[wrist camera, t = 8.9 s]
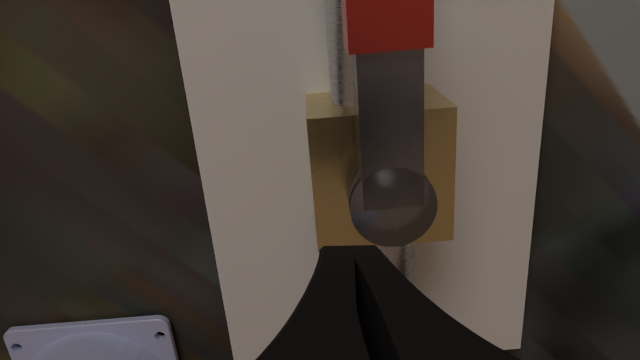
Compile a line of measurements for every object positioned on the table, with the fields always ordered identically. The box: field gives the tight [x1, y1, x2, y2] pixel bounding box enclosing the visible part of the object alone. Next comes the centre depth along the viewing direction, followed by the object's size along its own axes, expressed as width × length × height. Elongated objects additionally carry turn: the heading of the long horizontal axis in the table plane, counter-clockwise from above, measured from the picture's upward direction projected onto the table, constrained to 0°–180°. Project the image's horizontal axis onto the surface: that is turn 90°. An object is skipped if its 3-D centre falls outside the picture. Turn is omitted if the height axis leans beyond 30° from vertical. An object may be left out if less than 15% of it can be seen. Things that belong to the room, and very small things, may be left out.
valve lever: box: [341, 0, 438, 247], centre depth 14 cm, size 10×3×2 cm, turn 4°
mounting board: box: [169, 0, 555, 360], centre depth 21 cm, size 22×14×1 cm, turn 4°
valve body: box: [306, 0, 457, 286], centre depth 18 cm, size 18×5×4 cm, turn 4°
